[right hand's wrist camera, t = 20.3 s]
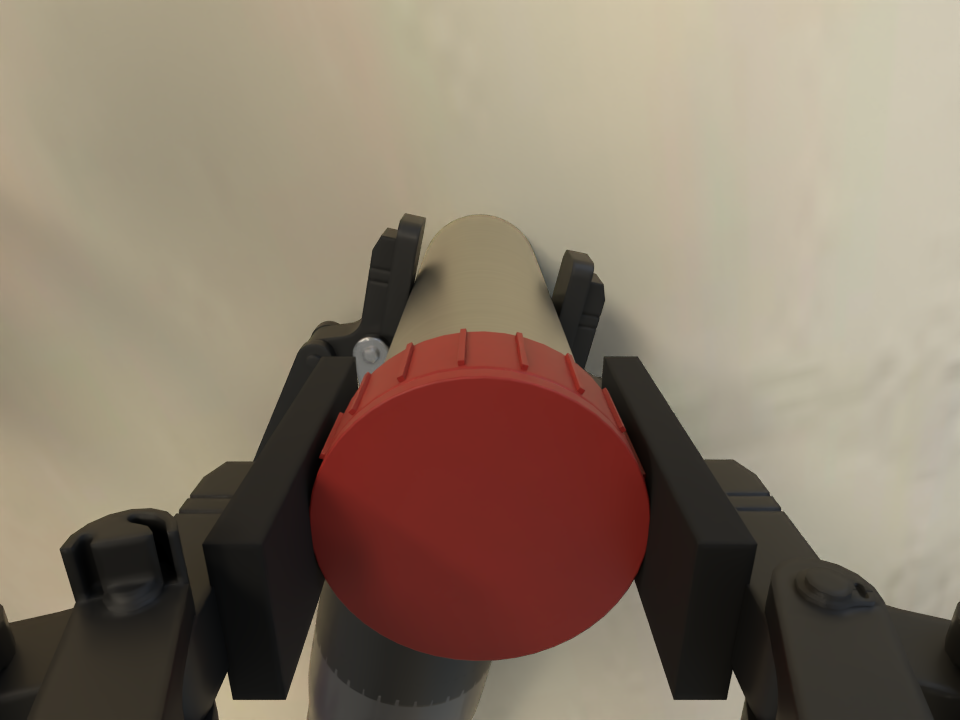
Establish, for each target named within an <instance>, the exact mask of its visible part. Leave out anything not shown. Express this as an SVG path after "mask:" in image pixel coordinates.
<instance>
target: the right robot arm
mask: <svg viewBox="0 0 960 720" xmlns="http://www.w3.org/2000/svg"><path fill="white" fill-rule="evenodd" d="M604 388H606V389H607V390H608V392H609V394H610V396H611V398H612V400H613V403H614V405H615V407H616V409H617V411H618V414H619V416H620V418H621V420H622V422H623V424H624V427H625V429H626V432H627V434H628V436H629V438H630V441H631V443H632V445H633V447H634V449H635V452H636V454H637V456H638V458H639V460H640V462H641V465H642V467H643V469H644V471H645V473H646V478H645V483H646V487H647V491H648V495H649V501H650V522H649V530H648V539H647V546H646V553H645V556H644V559H643V561H642V564H641V566H640V569H639V571H638V573H637V575H636V577H635V578H634V580H635V583H636V586H637V589H638V592H639V595H640V598H641V601H642V604H643V607H644V610H645V613H646V616H647V619H648V623H649V626H650V629H651V632H652V635H653V638H654V641H655V644H656V647H657V650H658V653H659V656H660V659H661V662H662V665H663V668H664V671H665V674H666V677H667V680H668V683H669V686H670V689H671V693H672V696H673V699H674V700H727V695H728V690H729V685H730V680H731V675H732V670H733V671H734V673H735V676H736V678H737V680H738V682H739V684H740V687H741V689H742V691H743V693H744V696H745V702H744V707H743V711H742V716H741V720H960V602H959V603H958V604H957V607H956V609H955V612H954V615H953V618H952V620H947V619H943V618H938V617H933V616H929V615H924V614H920V613H915V612H911V611H906V610H901V609H898V608H894V607H891V606H887V605H886V604H885V602H884V601H883V599H882V598H881V596H880V595H879V593H878V592H877V591H876V589H875V588H874V587H873V586H872V585H871V584H869V583H868V582H867V581H866V580H864V579H863V578H862V577H860V576H859V575H858V574H856V573H854V572H852V571H850V570H848V569H846V568H844V567H842V566H840V565H838V564H834V563H830V562H827V561H823V560H820V559H819V557H818V556H817V555H816V553H815V552H814V551H813V549H812V548H811V547H810V545H809V544H808V543H807V542H806V540H805V539H804V538H803V536H802V535H801V534H800V532H799V531H798V530H797V528H796V527H795V526H794V524H793V523H792V522H791V520H790V519H789V518H788V516H787V515H786V514H785V512H784V511H781V507H780V506H779V505H778V503H777V502H776V501H775V499H774V498H773V497H772V496H770V493H769V491H768V490H767V489H766V487H765V486H764V485H763V483H762V482H761V481H760V479H759V478H758V477H757V475H755V474H754V473H752V472H751V471H749V470H748V469H746V468H745V467H744V466H742V465H741V464H739V463H738V462H736V461H735V460H703V458H702V456H701V455H700V453H699V452H698V450H697V449H696V447H695V445H694V444H693V442H692V441H691V439H690V438H689V436H688V435H687V433H686V431H685V430H684V428H683V427H682V425H681V424H680V422H679V420H678V419H677V417H676V416H675V414H674V413H673V411H672V409H671V408H670V406H669V405H668V403H667V402H666V400H665V399H664V397H663V395H662V394H661V392H660V391H659V389H658V388H657V386H656V384H655V383H654V381H653V380H652V378H651V377H650V375H649V374H648V372H647V370H646V369H645V367H644V366H643V364H642V363H641V361H640V359H639V358H638V357H604V363H603V376H602V388H601V389H604ZM357 390H358V380H357V368H356V357H321V359H320V360H319V362H318V364H317V365H316V367H315V368H314V370H313V371H312V373H311V374H310V376H309V378H308V379H307V381H306V382H305V384H304V385H303V387H302V389H301V390H300V392H299V393H298V395H297V396H296V398H295V399H294V401H293V403H292V404H291V406H290V407H289V409H288V410H287V412H286V414H285V415H284V417H283V418H282V420H281V421H280V423H279V425H278V426H277V428H276V429H275V431H274V432H273V434H272V435H271V437H270V439H269V440H268V442H267V443H266V445H265V446H264V448H263V450H262V451H261V453H260V454H259V456H258V457H257V459H256V460H255V462H225V463H224V464H222V465H221V466H219V467H218V468H216V469H215V470H214V471H212V472H211V473H209V474H208V475H206V476H205V477H203V479H202V480H201V481H200V483H199V484H198V485H197V487H196V488H195V489H194V491H193V492H192V493H191V495H190V498H188V499H187V500H186V501H185V503H184V504H183V505H182V507H181V508H180V509H179V514H176V515H175V516H174V517H173V516H172V515H170V514H169V513H168V512H166V511H162V510H157V509H152V508H147V509H130V510H126V511H122V512H118V513H114V514H110V515H107V516H105V517H103V518H100V519H98V520H96V521H93V522H91V523H89V524H87V525H86V526H84V527H83V528H81V529H80V530H78V531H77V532H75V533H74V534H72V535H71V536H70V537H69V538H68V540H67V541H66V542H65V543H64V544H63V546H62V547H61V548H60V552H61V555H62V558H63V562H64V565H65V568H66V572H67V575H68V578H69V582H70V585H71V588H72V591H73V595H74V598H75V601H76V603H75V606H74V608H72V609H68V610H65V611H61V612H57V613H52V614H48V615H43V616H39V617H34V618H30V619H25V620H21V621H16V622H12V623H9V622H8V619H7V617H6V614H5V611H4V608H3V606H2V605H1V604H0V720H219V718H218V711H217V707H216V702H215V698H216V696H217V694H218V691H219V689H220V687H221V685H222V682H223V680H224V678H225V676H226V673H227V672H228V677H229V682H230V687H231V692H232V697H233V700H286V697H287V694H288V691H289V688H290V685H291V682H292V679H293V676H294V673H295V670H296V667H297V664H298V661H299V658H300V655H301V652H302V649H303V646H304V643H305V640H306V637H307V634H308V631H309V627H310V624H311V621H312V618H313V615H314V612H315V609H316V606H317V603H318V600H319V597H320V594H321V591H322V588H323V585H324V582H325V578H324V575H323V573H322V571H321V569H320V567H319V565H318V563H317V560H316V557H315V554H314V549H313V542H312V534H311V525H310V516H309V506H310V500H311V493H312V489H313V485H314V482H315V479H316V476H317V473H318V470H319V468H320V466H321V464H322V462H323V459H320V458H319V456H320V454H321V451H322V449H323V447H324V445H325V443H326V441H327V439H328V436H329V434H330V432H331V430H332V428H333V426H334V423H335V421H336V419H337V417H338V415H339V413H340V412H341V413H345V411H346V409H347V407H348V405H349V403H350V401H351V399H352V397H353V396H354V395H355V393H356V392H357Z"/></svg>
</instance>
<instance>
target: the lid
mask: <svg viewBox="0 0 960 720" xmlns="http://www.w3.org/2000/svg"><path fill="white" fill-rule="evenodd" d="M319 458H320V459H323V462H322V464H321V466H320V468H319V470H318V473H317V476H316V479H315V482H314V485H313V489H312V493H311V500H310V506H309V516H310V525H311V534H312V542H313V549H314V554H315V557H316V560H317V563H318V565H319V567H320V569H321V571H322V573H323V575H324V578H325V580H326V581H327V583H328V584H329V586H330V587H331V589H332V590H333V592H334V593H335V595H336V596H337V597H338V598H339V600H340V601H341V602H342V603H343V604H344V605H345V606H346V607H347V608H348V610H349V611H350V612H352V613H353V614H354V615H355V616H356V617H357V618H358V619H360V620H361V621H362V622H363V623H364V624H366V625H367V626H369V627H370V628H372V629H373V630H375V631H376V632H378V633H379V634H381V635H383V636H384V637H386V638H388V639H390V640H392V641H394V642H396V643H398V644H400V645H403V646H405V647H408V648H411V649H413V650H416V651H419V652H423V653H426V654H430V655H433V656H438V657H444V658H450V659H456V660H470V661H489V660H502V659H510V658H517V657H521V656H525V655H530V654H534V653H537V652H540V651H543V650H546V649H549V648H552V647H555V646H557V645H559V644H561V643H563V642H565V641H568V640H570V639H572V638H574V637H575V636H577V635H579V634H580V633H582V632H583V631H585V630H587V629H588V628H590V627H591V626H592V625H594V624H595V623H596V622H597V621H599V620H600V619H601V618H603V617H604V616H605V615H606V614H607V613H608V612H609V611H610V610H611V609H612V608H613V607H614V606H615V605H616V604H617V603H618V602H619V600H620V599H621V598H622V596H623V595H624V594H625V593H626V591H627V590H628V589H629V587H630V585H631V584H632V582H633V580H634V578H635V577H636V575H637V573H638V571H639V569H640V566H641V564H642V561H643V559H644V556H645V553H646V546H647V539H648V530H649V522H650V501H649V495H648V491H647V487H646V483H645V478H646V473H645V471H644V469H643V467H642V465H641V462H640V460H639V458H638V456H637V454H636V452H635V449H634V447H633V445H632V443H631V441H630V438H629V436H628V434H627V432H626V429H625V427H624V424H623V422H622V420H621V418H620V416H619V414H618V411H617V409H616V407H615V405H614V403H613V400H612V398H611V396H610V394H609V392H608V390H607V389H606V388H604V389H601V388H600V387H599V385H598V384H597V383H596V382H595V381H594V379H593V378H592V377H591V376H590V375H589V374H588V373H587V372H586V371H584V370H583V369H582V368H581V367H580V366H579V365H578V364H577V363H575V362H574V359H573V357H572V355H571V354H569V353H567V354H566V355H563V354H562V353H560V352H558V351H556V350H554V349H552V348H550V347H548V346H546V345H544V344H542V343H539V342H536V341H533V340H531V339H528V338H525V337H523V334H522V333H519V332H517V333H516V335H511V334H507V333H498V332H487V331H479V332H467V330H466V328H465V329H460V333H455V334H448V335H443V336H439V337H436V338H432V339H429V340H426V341H423V342H421V343H418V344H416V345H413V343H412V342H411V343H409V344H407V346H406V349H405V350H403V351H402V352H400V353H398V354H397V355H395V356H393V357H392V358H390V359H388V360H387V361H386V362H385V363H384V364H382V365H381V366H380V367H379V368H377V369H376V370H375V371H374V372H373V373H372V374H370V373H369V372H367V373H366V374H365V375H364V377H363V380H362V382H361V384H360V387H359V389H358V390H357V392H356V393H355V395H354V396H353V397H352V399H351V401H350V403H349V405H348V407H347V409H346V411H345V413H341V412H340V413H339V415H338V417H337V419H336V421H335V423H334V426H333V428H332V430H331V432H330V434H329V436H328V439H327V441H326V443H325V445H324V447H323V449H322V451H321V454H320V456H319Z"/></svg>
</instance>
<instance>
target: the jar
mask: <svg viewBox="0 0 960 720" xmlns="http://www.w3.org/2000/svg"><path fill="white" fill-rule="evenodd" d="M465 328H466V330H467V332H479V331H487V332H498V333H507V334H511V335H516V333H517V332H519V333H522V334H523V337H525V338H528V339H531V340H533V341H536V342H539V343H542V344H544V345H546V346H548V347H550V348H552V349H554V350H556V351H558V352H560V353H562V354H563V355H566V354H567V353H569V354H571V355H572V352H571V349H570V347H569V344H568V342H567V339H566V336H565V334H564V331H563V328H562V326H561V323H560V320H559V318H558V315H557V313H556V310H555V307H554V305H553V302H552V299H551V297H550V294H549V291H548V289H547V286H546V284H545V281H544V278H543V276H542V273H541V270H540V268H539V265H538V262H537V260H536V257H535V255H534V252H533V250H532V247H531V245H530V243H529V242H528V240H527V238H526V237H525V236H524V235H523V234H522V232H521V231H519V230H518V229H517V228H516V227H515V226H513V225H512V224H511V223H509V222H507V221H505V220H503V219H500V218H498V217H494V216H490V215H470V216H465V217H462V218H459V219H457V220H455V221H453V222H451V223H449V224H448V225H446V226H445V227H444V228H442V229H441V230H440V231H439V232H438V233H437V234H436V236H435V237H434V238H433V240H432V241H431V243H430V245H429V247H428V249H427V251H426V254H425V256H424V259H423V262H422V264H421V267H420V270H419V272H418V275H417V277H416V280H415V283H414V285H413V288H412V291H411V293H410V296H409V299H408V301H407V304H406V306H405V309H404V312H403V314H402V317H401V320H400V322H399V325H398V328H397V330H396V333H395V335H394V338H393V341H392V343H391V346H390V349H389V351H388V354H387V357H386V359H385V362H386V361H387V360H388V359H390V358H392V357H393V356H395V355H397V354H398V353H400V352H402V351H403V350H405V349H406V346H407V344H409V343H411V342H412V343H413V345H416V344H418V343H421V342H423V341H426V340H429V339H432V338H436V337H439V336H443V335H448V334H455V333H460V329H465ZM572 357H573V355H572ZM573 359H574V357H573ZM385 362H384V363H385ZM574 362H575V360H574Z"/></svg>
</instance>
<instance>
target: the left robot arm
mask: <svg viewBox="0 0 960 720" xmlns="http://www.w3.org/2000/svg"><path fill="white" fill-rule="evenodd" d="M425 221H426V218H424V217H420V216H415V215H411V214H406V213H405V214H404V216H403V217H402V219H401V220H400V223H399V227H398V230H396V229H391V228H387V229H386V230H385V232H384V233H383V234H382V235H381V237H380V239H379V240H378V242H377V243H376V245H375V247H374V248H373V250H372V257H371V263H370V270H369V276H368V282H367V289H366V295H365V301H364V308H363V314H362V319H360V320H359V321H356V322H353V323H347V324H338V323H336V322H333V321H326V322H323V323H321V324H319V325H318V326H317V328H316V329H315V330H314V332H313V333H312V336H311V338H310V339H309V341H308V342H306V343H305V344H304V345H303V346H302V348H301V349H300V350H299V352H298V354H297V356H296V358H295V361H294V363H293V366H292V368H291V371H290V373H289V375H288V378H287V380H286V383H285V385H284V388H283V390H282V392H281V395H280V397H279V400H278V402H277V405H276V407H275V409H274V412H273V414H272V417H271V419H270V422H269V424H268V426H267V429H266V431H265V434H264V436H263V439H262V441H261V444H260V446H259V448H258V451H257V453H256V456H255V458H254V461H253V462H255V460H256V459H257V457H258V456H259V454H260V453H261V451H262V450H263V448H264V446H265V445H266V443H267V442H268V440H269V439H270V437H271V435H272V434H273V432H274V431H275V429H276V428H277V426H278V425H279V423H280V421H281V420H282V418H283V417H284V415H285V414H286V412H287V410H288V409H289V407H290V406H291V404H292V403H293V401H294V399H295V398H296V396H297V395H298V393H299V392H300V390H301V389H302V387H303V385H304V384H305V382H306V381H307V379H308V378H309V376H310V374H311V373H312V371H313V370H314V368H315V367H316V365H317V364H318V362H319V360H320V359H321V357H356V368H357V377H358V381H359V386H360V384H361V382H362V380H363V377H364V375H365V374H366V373H367V372H369V373H370V374H372V373H373V372H374V371H375V370H376V369H377V368H379V367H380V366H381V365H382V364H384V362H385V359H386V357H387V354H388V351H389V349H390V346H391V343H392V341H393V338H394V335H395V333H396V330H397V328H398V325H399V322H400V320H401V317H402V314H403V312H404V309H405V306H406V304H407V301H408V299H409V296H410V293H411V291H412V288H413V285H414V282H415V276H416V271H417V265H418V260H419V255H420V249H421V244H422V238H423V233H424V228H425ZM593 272H594V263H593V261H592V260H591V259H590V257H589V256H588V255H587V254H584V253H580V252H575V251H571V250H566V252H565V254H564V256H563V259H562V263H561V267H560V270H559V274H558V278H557V281H556V285H555V289H554V292H553V296H552V302H553V305H554V307H555V310H556V313H557V315H558V318H559V320H560V323H561V326H562V328H563V331H564V334H565V336H566V339H567V342H568V344H569V347H570V349H571V352H572V355H573V357H574V360H575V363H577V364H578V365H579V366H580V367H581V368H582V369H583V370H584V369H585V364H586V361H587V358H588V355H589V351H590V348H591V345H592V341H593V338H594V335H595V332H596V327H597V325H598V322H599V317H600V315H601V312H602V309H603V306H604V302H605V295H604V284H603V283H602V282H601V280H600V279H599V277H598V276H597V275H596V274H594V273H593ZM584 371H585V370H584ZM587 373H588V372H587ZM588 374H589V373H588ZM589 375H590V376H591V377H592V378H593V379H594V381H595V382H596V383H597V384H598V385H599V387H600V388H602V378H601V377H594V376H593V375H591V374H589ZM491 661H492V660H489V661H470V660H456V659H450V658H444V657H438V656H433V655H430V654H426V653H423V652H419V651H416V650H413V649H411V648H408V647H405V646H403V645H400V644H398V643H396V642H394V641H392V640H390V639H388V638H386V637H384V636H383V635H381V634H379V633H378V632H376V631H375V630H373V629H372V628H370V627H369V626H367V625H366V624H364V623H363V622H362V621H361V620H360V619H358V618H357V617H356V616H355V615H354V614H353V613H352V612H350V611H349V610H348V608H347V607H346V606H345V605H344V604H343V603H342V602H341V601H340V600H339V598H338V597H337V596H336V595H335V593H334V592H333V590H332V589H331V587H330V586H329V584H328V583H327V581H326V580H325V582H324V585H323V588H322V591H321V594H320V600H319V606H318V613H317V619H316V626H315V632H314V638H313V644H312V651H311V657H310V666H309V679H308V684H309V708H308V714H307V720H472V718H473V716H474V713H475V711H476V709H477V706H478V703H479V700H480V697H481V694H482V691H483V688H484V685H485V681H486V678H487V675H488V671H489V668H490V665H491Z"/></svg>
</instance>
